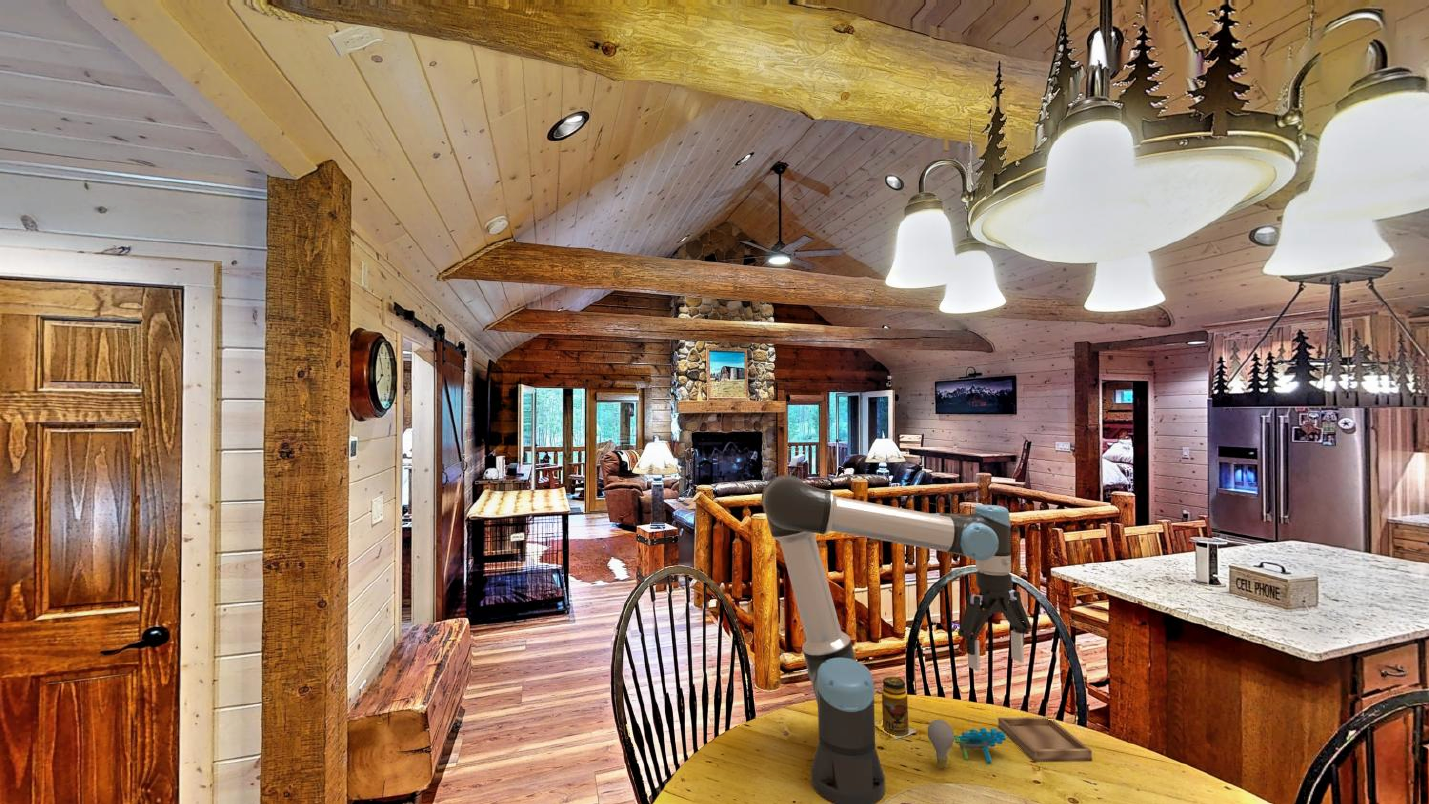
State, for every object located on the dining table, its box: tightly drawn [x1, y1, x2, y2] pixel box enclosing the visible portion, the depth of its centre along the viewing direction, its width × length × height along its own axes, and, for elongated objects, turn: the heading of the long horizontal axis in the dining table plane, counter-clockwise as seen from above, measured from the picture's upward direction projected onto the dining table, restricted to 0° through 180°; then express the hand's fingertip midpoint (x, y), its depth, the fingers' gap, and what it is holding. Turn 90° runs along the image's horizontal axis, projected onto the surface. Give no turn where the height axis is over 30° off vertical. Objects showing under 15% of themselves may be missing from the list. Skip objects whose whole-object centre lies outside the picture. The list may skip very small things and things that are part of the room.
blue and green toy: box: [954, 727, 1007, 764], centre depth 124 cm, size 11×6×10 cm
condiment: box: [875, 676, 918, 740], centre depth 137 cm, size 7×8×12 cm
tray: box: [997, 716, 1093, 763], centre depth 130 cm, size 13×15×2 cm
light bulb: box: [927, 718, 955, 770], centre depth 120 cm, size 6×6×10 cm
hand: (996, 664), depth 128 cm, fingers open, 13 cm apart
